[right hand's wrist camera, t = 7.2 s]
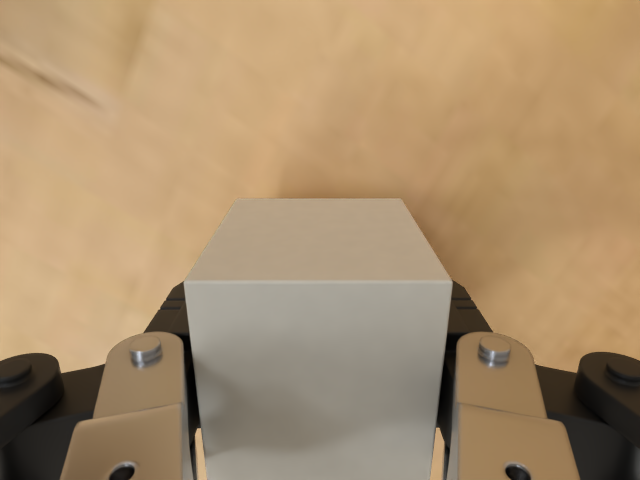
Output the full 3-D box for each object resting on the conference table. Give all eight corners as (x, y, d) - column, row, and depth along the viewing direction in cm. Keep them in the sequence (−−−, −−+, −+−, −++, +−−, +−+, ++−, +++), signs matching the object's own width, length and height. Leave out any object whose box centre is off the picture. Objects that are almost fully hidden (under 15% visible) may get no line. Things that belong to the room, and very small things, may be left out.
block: (235, 197, 12) (182, 280, 7) (401, 197, 12) (454, 280, 7) (247, 361, 13) (209, 510, 9) (390, 360, 13) (427, 510, 9)
